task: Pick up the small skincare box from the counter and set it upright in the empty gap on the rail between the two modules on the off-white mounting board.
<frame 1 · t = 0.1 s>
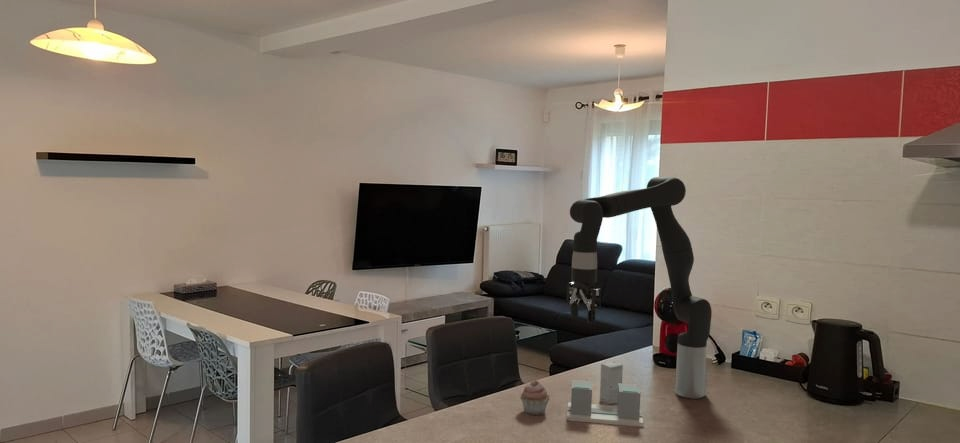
hand: (582, 319, 189), 29 cm above the counter, fingers open, 8 cm apart
skincare box: (610, 401, 203), on the counter
cupcake: (534, 412, 192), on the counter
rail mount: (604, 416, 189), on the counter
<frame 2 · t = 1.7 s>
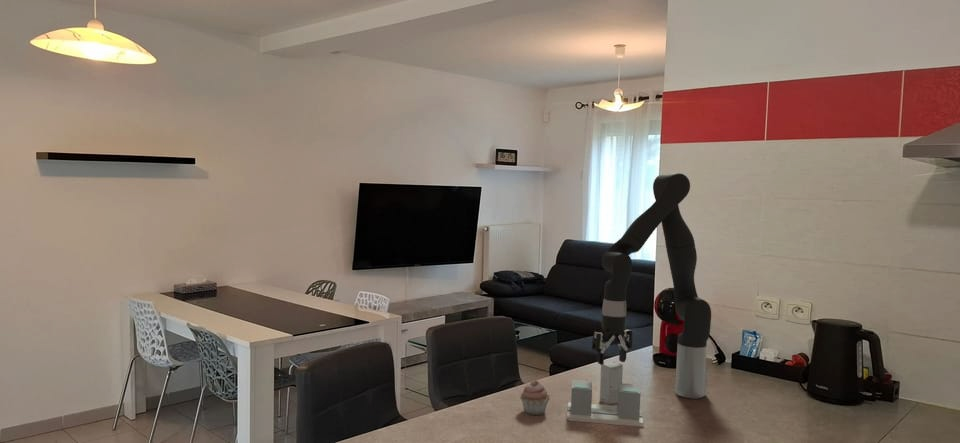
hand: (611, 362, 202), 13 cm above the counter, fingers open, 8 cm apart
nothing on the counter moved.
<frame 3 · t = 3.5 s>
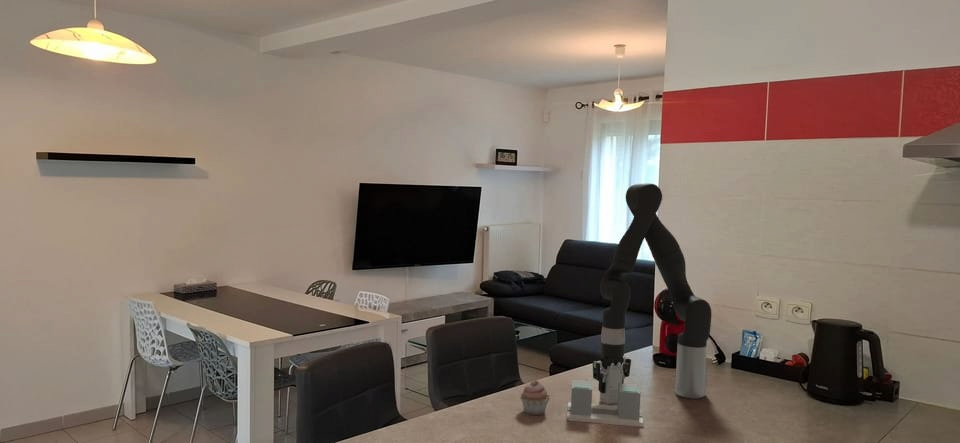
hand: (610, 391, 202), 3 cm above the counter, fingers closed on skincare box, 6 cm apart
skincare box: (610, 401, 203), on the counter, touching gripper
everything else where it was.
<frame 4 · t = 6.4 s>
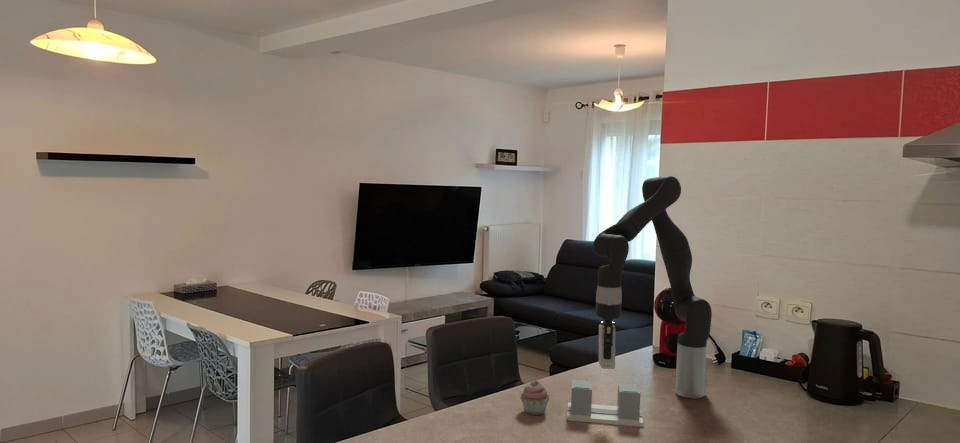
hand: (606, 355, 188), 19 cm above the counter, fingers closed on skincare box, 6 cm apart
skincare box: (606, 366, 189), point 15 cm above the counter, touching gripper
everything else where it was.
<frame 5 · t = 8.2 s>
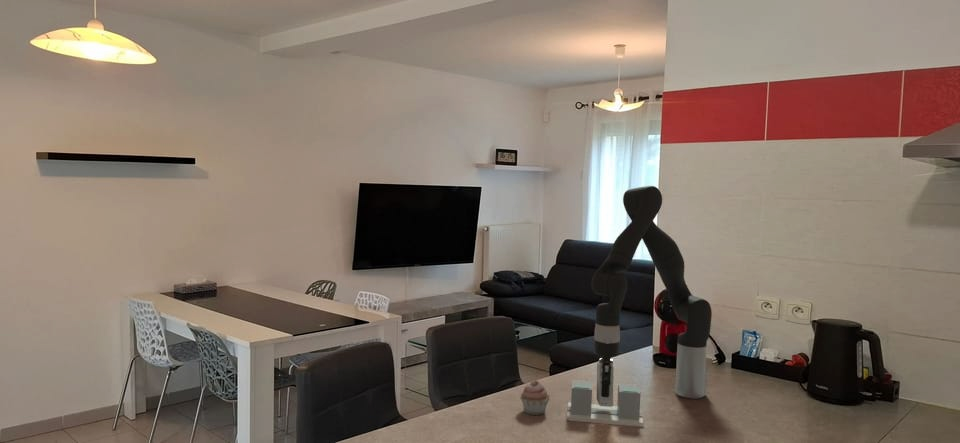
hand: (604, 392, 189), 7 cm above the counter, fingers closed on skincare box, 6 cm apart
skincare box: (604, 403, 189), point 4 cm above the counter, touching gripper
everything else where it was.
when the fingers open (5 cm above the counter, at t = 9.7 s): skincare box stays where it is, resting on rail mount.
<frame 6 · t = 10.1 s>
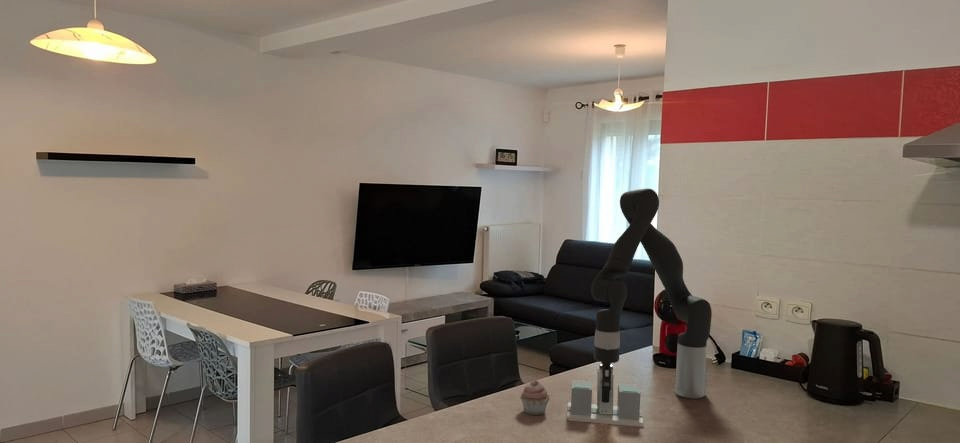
hand: (604, 397, 189), 6 cm above the counter, fingers open, 8 cm apart
skincare box: (604, 411, 190), point 1 cm above the counter, touching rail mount
everything else where it was.
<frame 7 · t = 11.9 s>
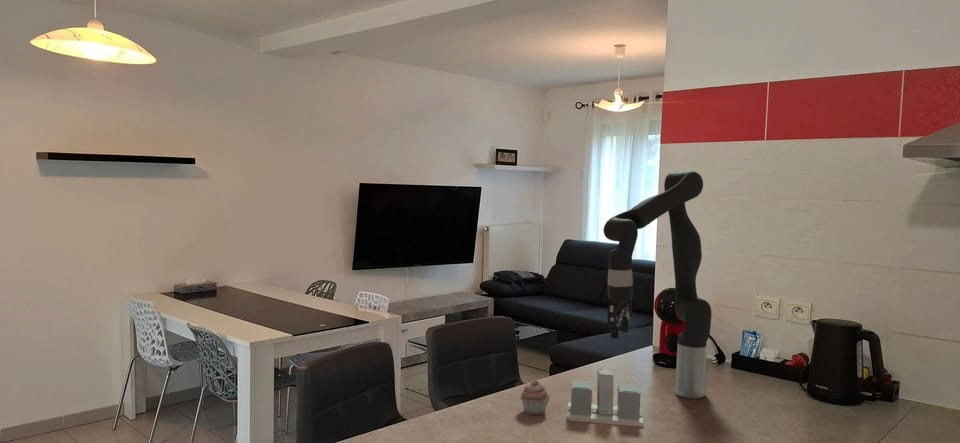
hand: (619, 335, 193), 24 cm above the counter, fingers open, 8 cm apart
nothing on the counter moved.
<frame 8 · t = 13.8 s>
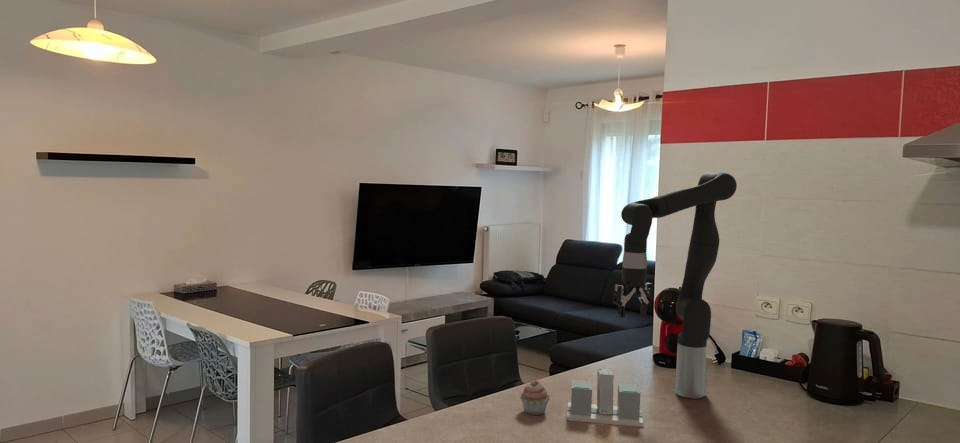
hand: (632, 316, 200), 28 cm above the counter, fingers open, 8 cm apart
nothing on the counter moved.
at the end: skincare box inside the target area on the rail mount (0.3 cm from its centre), point 1.3 cm above the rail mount's base; skincare box tilted 0°; the gripper is holding nothing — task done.
